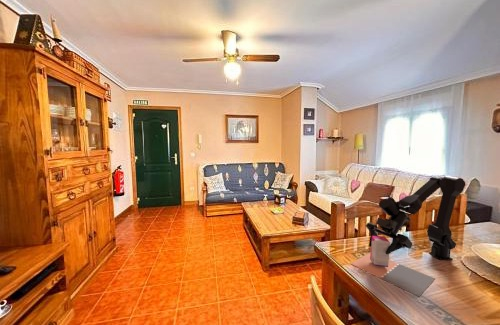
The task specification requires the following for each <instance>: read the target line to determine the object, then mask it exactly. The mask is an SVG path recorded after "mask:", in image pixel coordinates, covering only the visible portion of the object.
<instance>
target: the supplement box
mask: <svg viewBox="0 0 500 325" xmlns="http://www.w3.org/2000/svg"><path fill="white" fill-rule="evenodd" d="M390 244H391V241H390V240H389V239H387V237H386V236H379V235H378V236H372V241H371V246H370V252H371V255H370V260H371V261H372V263H373V264H374V266H383V267H388V264H389V260H390V254H388V255H387V254H386V251H387V249H388V247H389V246H390Z"/></svg>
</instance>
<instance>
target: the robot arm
mask: <svg viewBox="0 0 500 325" xmlns="http://www.w3.org/2000/svg"><path fill="white" fill-rule="evenodd" d="M465 187H466V181H465V180H464V179H463V178H461V177H457V176H456V177H455V176H450V175H446V176H444V177H440V176H430V178H429V180H428V181H426V182H425V183H424V184H423V185H422V186H421V187H419V189H417V190H416V191H415V192H413V194H410V195H407V196H405V197H403V198H401V199H399V200H398V201H396V200H395V198H394V197H390V196H389V197H387V198H384V199H382V200H380V201H379V203H378V206H379V208H380V209H381V210H382V211H383V212H384V213H385V215H387V216H389V218H385V219H384V218H381V217H377V220H376V223H373V222H367V223H366V224H365V228H366V229H367V230H368V231H369V235H370V237H369V243H368V246H369V247H371V241H372V236H379V234H380V235H383V236H384V237H388V238H391V239H392V240H391V242H390V246H389V247H388V249H387V251H386V254H387V255H388V254H389V255H390V254H391V253H394V252H395V251H398V250H400V249H405V248H406V249H409V250H410V249H411V248H412V246H413V242H412V241H411V239H410V238H409V236H407V235H405V234H402V233H399V231H400V232H401V231H403V228H402V227H403V225H404V223H405V222H406V221H408V222H410V221H411V218H410V215H416V214H417V213H418V212H419V211H420V210H421V208H422V207H423V203H424V201H426V200H427V199H428V198H429V197H431V195H433V194H434V193H435V192H436V191H437V190H439V189H440V191H441V193H442V195H441V200H440V203H439V207H438V211H437V215H436V218H435V222H434V223H432V224H429V225H428V227H427V231H426V233H427V234H426V235H427V237H428V240H429V241H430V242H432V245H431V249H430V250H431V251H429V253H428V254H430V255H431V256H433V257H434V258H436V259H437V260H439V261H440V260H442V261H443V260H444V261H445V260H446V261H448V260H449V261H453V257H451V251H452V250H453V249H455V248H456V246H457V243H456V242H455V241H454V240H453V239H452V231H451V228H450V223H451V218H452V215H453V211H454V208H455V203H456V200H457V197H459V195H461V194H462V193H463V192H464V189H465ZM407 213H408V214H407ZM378 226H379V227H378Z"/></svg>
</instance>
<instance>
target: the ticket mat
mask: <svg viewBox="0 0 500 325" xmlns="http://www.w3.org/2000/svg"><path fill="white" fill-rule="evenodd" d="M370 255H371V251H370V252H367V253H366V254H364V255H363V256H361V257H359V258H358V259H356V260H354V261H352V262H351V263H350V264H351V265H352V266H354V267H356V268H358V269H361V270H362V271H364V272H367V273H369V274H370V275H372V276H375V277H377V278H379V279H382V280H383V281H385V282H387V283H390V284H391V285H394V286H396V287H398V288H400V289H402V290H403V291H406V292H408V293H410V294H413V295H414V296H417V297H419V298H420V296H421V295H422V294H423V293H424V292H425V291H426V290H427V289H428V288H429V286H430V285H431V284H432V283H433V282H434V281H435V280H436V278H435V277H433V276H430V275H428V274H425V273H423V272H421V271H417V270H415V269H414V268H413V269H412V268H411V267H408V266H406V265H403V264H400V263H398V262H396V261H393V260H390V259H389V264H388V267H383V266H374V264H373V263H372V261H371V260H370Z"/></svg>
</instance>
